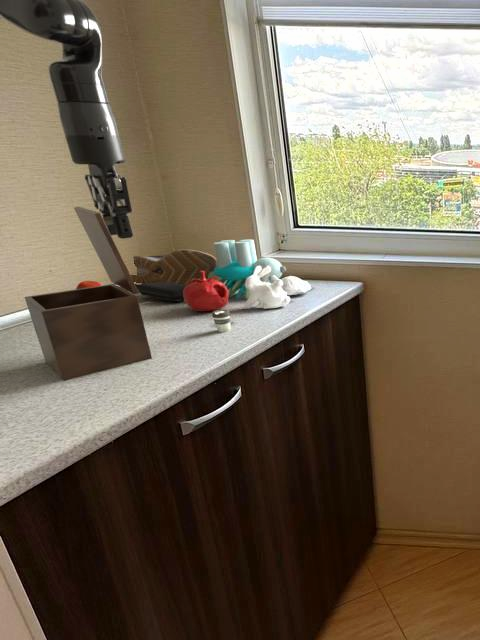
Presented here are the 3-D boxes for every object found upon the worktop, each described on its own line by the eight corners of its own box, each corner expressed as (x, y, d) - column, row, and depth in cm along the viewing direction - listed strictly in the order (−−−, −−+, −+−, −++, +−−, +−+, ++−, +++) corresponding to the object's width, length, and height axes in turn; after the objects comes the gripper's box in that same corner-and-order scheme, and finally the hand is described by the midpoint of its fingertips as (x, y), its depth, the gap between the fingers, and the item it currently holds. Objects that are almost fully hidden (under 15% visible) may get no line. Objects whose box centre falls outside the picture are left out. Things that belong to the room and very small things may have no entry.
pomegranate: (185, 316, 120) (176, 277, 117) (188, 305, 129) (179, 268, 125) (231, 311, 124) (224, 273, 121) (231, 301, 133) (224, 265, 129)
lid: (94, 214, 84) (129, 205, 87) (73, 207, 92) (106, 199, 95) (134, 294, 91) (165, 283, 95) (111, 282, 99) (140, 272, 102)
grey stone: (286, 290, 143) (284, 272, 141) (314, 290, 143) (312, 273, 141) (272, 298, 135) (269, 279, 133) (302, 298, 135) (299, 280, 133)
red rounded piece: (87, 284, 118) (88, 316, 120) (112, 283, 124) (112, 313, 126) (65, 280, 119) (67, 311, 121) (91, 279, 125) (92, 309, 127)
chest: (64, 384, 87) (41, 311, 82) (46, 364, 95) (24, 296, 90) (152, 362, 97) (137, 295, 92) (130, 345, 104) (114, 283, 99)
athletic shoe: (201, 247, 139) (231, 245, 150) (115, 254, 145) (149, 251, 156) (210, 288, 142) (238, 283, 153) (125, 293, 148) (158, 287, 159)
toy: (290, 237, 141) (297, 291, 146) (208, 238, 139) (218, 293, 144) (278, 243, 130) (286, 301, 135) (189, 245, 128) (200, 303, 133)
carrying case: (170, 279, 143) (209, 286, 138) (171, 290, 144) (210, 297, 139) (133, 283, 134) (172, 290, 129) (134, 295, 135) (173, 302, 129)
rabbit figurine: (237, 309, 126) (230, 270, 122) (250, 301, 133) (243, 263, 129) (287, 309, 126) (281, 270, 122) (297, 301, 133) (291, 263, 129)
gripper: (53, 134, 88) (84, 234, 95) (77, 132, 79) (109, 243, 86) (104, 134, 93) (130, 229, 100) (132, 133, 84) (158, 237, 91)
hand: (120, 235), depth 93 cm, fingers closed on lid, 5 cm apart
